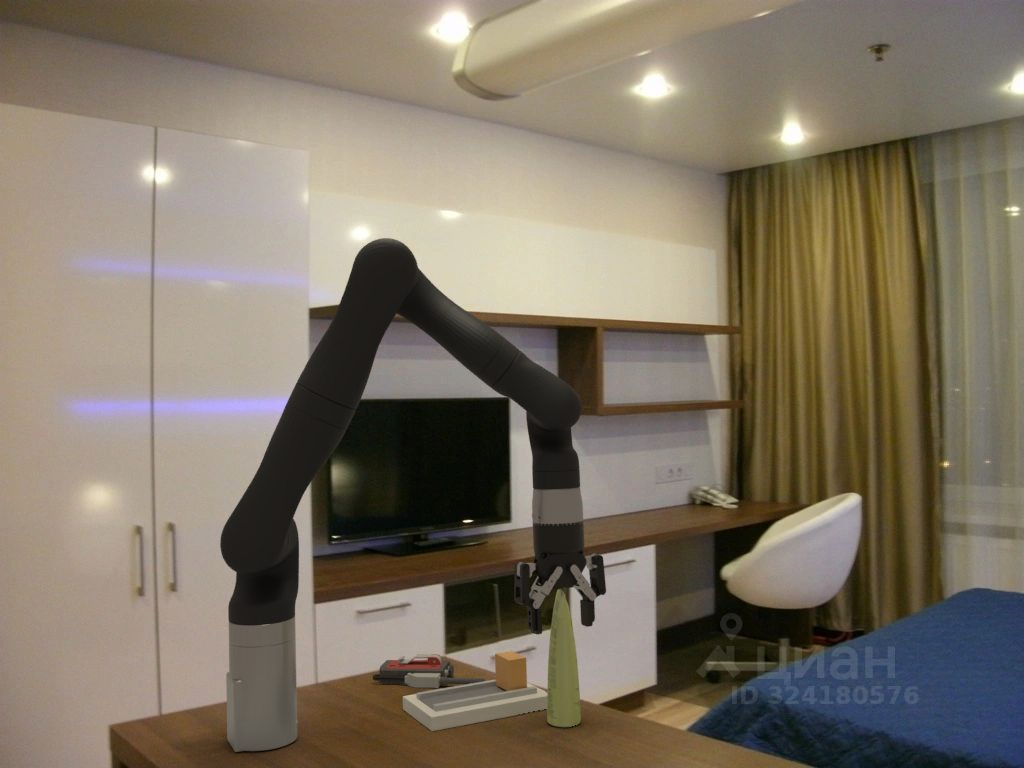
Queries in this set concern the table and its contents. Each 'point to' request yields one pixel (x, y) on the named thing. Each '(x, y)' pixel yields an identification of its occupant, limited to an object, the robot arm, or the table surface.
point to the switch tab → (510, 671)
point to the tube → (562, 668)
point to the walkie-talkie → (420, 672)
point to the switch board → (472, 704)
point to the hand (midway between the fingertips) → (562, 629)
